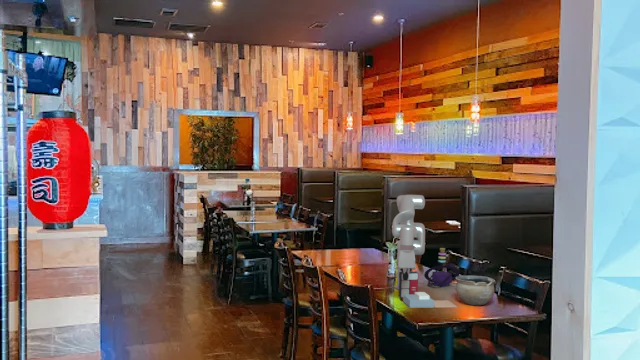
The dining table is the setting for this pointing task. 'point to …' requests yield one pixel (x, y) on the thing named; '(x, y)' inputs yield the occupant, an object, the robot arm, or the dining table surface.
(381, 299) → the dining table surface
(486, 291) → the ceramic bowl
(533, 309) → the dining table surface
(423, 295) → the tile
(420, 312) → the dining table surface
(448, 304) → the mat
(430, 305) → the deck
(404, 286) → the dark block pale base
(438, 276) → the decorative bottle
